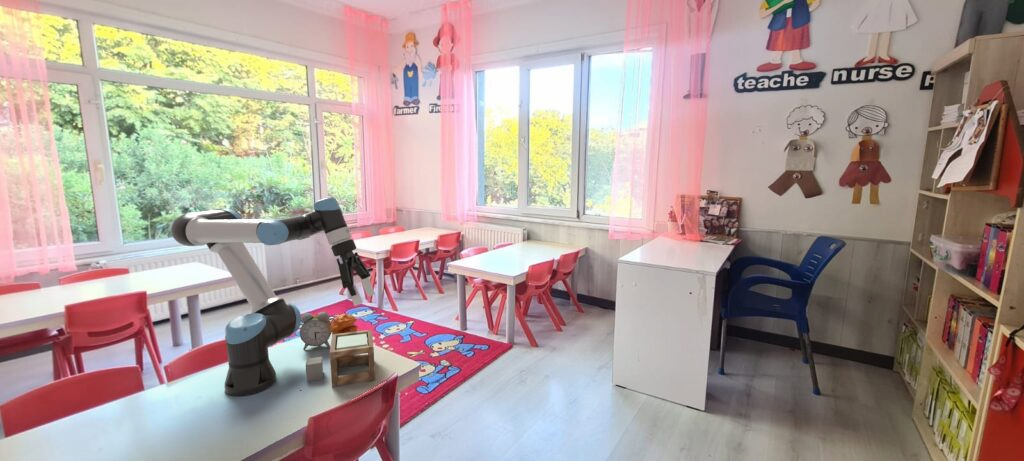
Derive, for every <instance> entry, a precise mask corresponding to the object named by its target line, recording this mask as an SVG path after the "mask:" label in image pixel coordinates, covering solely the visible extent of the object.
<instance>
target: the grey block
mask: <svg viewBox="0 0 1024 461" xmlns="http://www.w3.org/2000/svg"><path fill="white" fill-rule="evenodd" d="M305 374H306V375H305V376H306V377H305V379H306V381H307V382H308V381H314V380H321V379H323V376H324V363H323V356H316V357H311V358H310V357H309V358H306V361H305Z"/></svg>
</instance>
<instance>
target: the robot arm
mask: <svg viewBox="0 0 1024 461" xmlns="http://www.w3.org/2000/svg"><path fill="white" fill-rule="evenodd" d="M312 206H313V210H312V211H309V212H308V213H305V214H302V215H297V216H289V217H286V218H278V219H276V218H275V219H271V218H270V219H243V218H242V216H241V215H240V214H239V213H237V211H235V210H233V209H229V208H215V209H211V210H204V211H203V210H202V211H195V212H194V211H193V212H188V213H187V212H186V213H183V214H181V215H180V216H178V217H177V218H176V219H175V220H174V221H173V222H172V224H171V228H170V231H171V232H170V233H171V236H172V238H173V239H174V240H175V241H176V242H177V243H179V244H181V245H183V246H187V247H196V246H197V247H198V246H199V247H200V246H201V247H202V246H205V245H206V246H207V248H208V250H209V251H210V252H211V253H215V254H216V253H217V254H218V257H219V258H220V259H221V261H222V263H223V264H224V266H225V267H226V269H227V270H228V272H229V274H230V275H231V277H232V278H233V280H234V281H235V282H234V283H235V284H236V285H237V287H238V288H239V290H240V292H241V293H242V294H243V296H244V297H245V299H246V301H247V302H248V304H249V306H250V307H251V309H252V310H251V313H248V314H245V315H240V316H238V317H235V318H233V319H232V320H230V321H229V322H228V323H227V325H226V326H225V329H224V330H225V335H224V339H225V343H226V344H225V346H226V351H227V360H228V361H227V362H228V370H227V372H226V378H225V381H224V392H225V393H226V394H227V395H230V396H233V397H241V396H242V397H243V396H249V395H255V394H257V393H260V392H262V391H265V390H267V389H269V388H271V387H272V386H273V385H274V384H275V383H276V382H277V372H276V370H275V367H274V366H273V364H272V362H271V360H270V357H269V348H270V347H272V346H273V345H275V344H277V343H280V342H281V341H283V340H284V339H287V338H289V337H291V336H292V335H293V334H295V333H296V332H297V331H298V330H300V328H301V323H302V322H301V317H302V314H301V311H300V309H299V308H298V307H297V306H296V305H295V304H292V303H291V302H290V303H287V302H286V301H285V299H284V297H281V296H277V295H276V293H275V292H274V290H273V288H272V287H271V285H270V284H269V282H268V281H267V279H266V277H265V275H264V274H263V273H262V271H261V269H260V267H259V266H258V264H257V263H256V261H255V259H254V258H253V256H252V255H251V253H250V251H249V249H248V248H247V247H246V246H245V244H250V243H251V244H263V245H265V246H276V245H281V244H284V243H287V242H292V241H295V240H296V241H297V240H298V241H301V240H305V239H308V238H311V236H314V235H316V234H319V233H320V232H324V235H325V237H326V240H327V242H328V244H329V246H331V247H330V249H331V251H332V254H333V256H334V257H337V258H336V263H337V265H338V270H339V274H340V279H341V285H342V288H343V289H347V292H348V294H349V295H350V296H349V297H350V299H351V300H352V303H353V305H354V306H353V307H356V306H359V305H361V304H364V301H363V298H362V296H361V294H360V292H359V289H358V287H357V285H356V284H355V282H354V272H355V273H356V274H357V276H358V277H359V278H360V279H361V280H360V283H361V284H362V286H363V289H364V291H365V293H366V297H367V298H369V297H372V296H375V295H376V292H375V290H374V286H373V285H372V283H371V279H370V277H371V276H372V275H371V273H370V272H369V270H368V268H367V267H366V266H365V263H364V262H363V261H362V259H361V257H360V255H359V254H358V252H357V251H356V252H353V251H355V250H356V249H357V246H356V242H355V240H354V239H353V238H352V233H351V229H350V228H349V227H348V224H347V221H346V219H345V217H344V214H343V211H342V208H341V206H340V205H339V203H338V201H337V199H336V198H335V197H333V196H330V197H326V198H322V199H319V200H316V202H314V203H313V205H312Z"/></svg>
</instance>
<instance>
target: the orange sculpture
mask: <svg viewBox="0 0 1024 461" xmlns="http://www.w3.org/2000/svg"><path fill="white" fill-rule="evenodd" d="M330 322H331V323H330V330H331V332H332V333H331V335H332V334H339V333H348V332H356V331H358V327H359V326H358V325H356V324H355V323H356V322H357V318H356V316H354V315H352V314H349V311H348V312H347V313H341V314H339V315H337V316H335V317H334V318H332V319H331V321H330ZM351 356H355V355H350V356H343V357H339V358H344V357H351Z"/></svg>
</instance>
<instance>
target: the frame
mask: <svg viewBox="0 0 1024 461" xmlns="http://www.w3.org/2000/svg"><path fill="white" fill-rule="evenodd" d="M358 334H367V346H362V347H355V348H347V349H340V350H337V337H341V336H349V335H358ZM330 339H331V341H330V347H329V364H330V375H331V376H330V377H331V380H330V381H331V387H332V388H335V387H338V386H345V385H351V384H357V383H363V382H373V381H376V372H375V371H376V370H375V351H374V350H375V347H374V338H373V330H372V329H367V330H357V331H356V332H348V333H339V334H332V333H331V337H330ZM350 355H354V356H351V357H344V358H339V357H343V356H350ZM360 364H362V365H363V364H368V371H363V372H356V373H349V374H343V375H338V373H339V372H338V370H339V368H341V367H348V366H355V365H360Z"/></svg>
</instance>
